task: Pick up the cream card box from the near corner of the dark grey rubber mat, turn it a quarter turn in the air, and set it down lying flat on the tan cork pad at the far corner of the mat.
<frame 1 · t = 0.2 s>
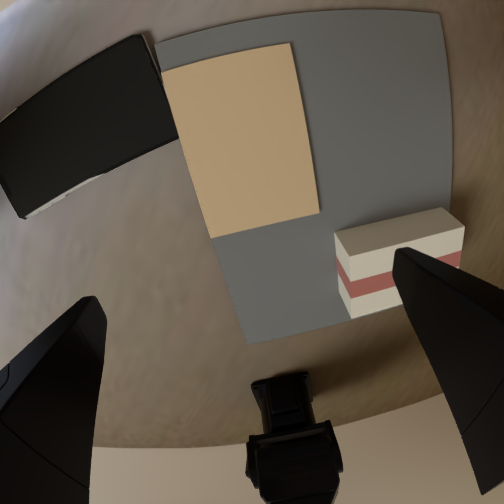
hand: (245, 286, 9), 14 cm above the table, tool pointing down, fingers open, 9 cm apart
card box: (391, 249, 26), point 1 cm above the table, touching mat
smartphone: (73, 130, 19), on the table
mat: (340, 190, 23), on the table
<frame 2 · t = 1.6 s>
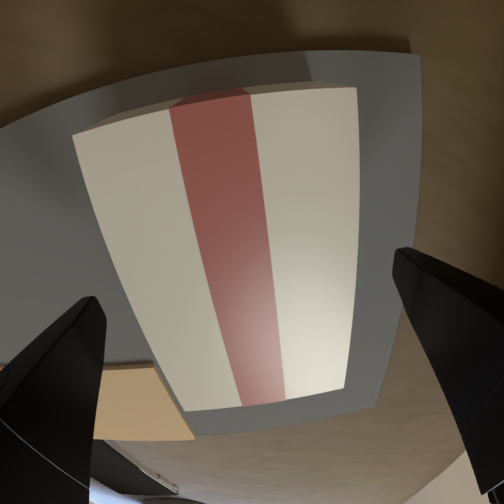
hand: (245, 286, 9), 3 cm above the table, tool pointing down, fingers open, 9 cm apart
card box: (237, 237, 11), point 1 cm above the table, touching mat
smartphone: (111, 459, 24), on the table
mat: (122, 328, 14), on the table
coffeepot: (173, 502, 31), on the table
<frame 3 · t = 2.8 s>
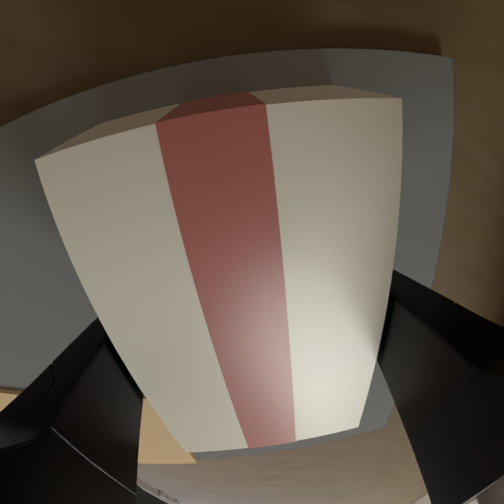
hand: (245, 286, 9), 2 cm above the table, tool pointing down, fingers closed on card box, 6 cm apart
card box: (243, 266, 10), point 1 cm above the table, touching gripper, mat
smartphone: (110, 475, 22), on the table
mat: (115, 357, 12), on the table
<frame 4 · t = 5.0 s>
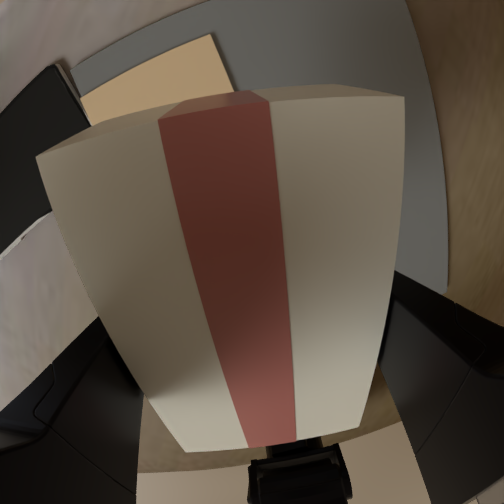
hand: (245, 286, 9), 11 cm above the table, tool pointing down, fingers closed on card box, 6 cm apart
card box: (243, 265, 10), point 10 cm above the table, touching gripper
smartphone: (17, 173, 18), on the table
mat: (306, 193, 20), on the table
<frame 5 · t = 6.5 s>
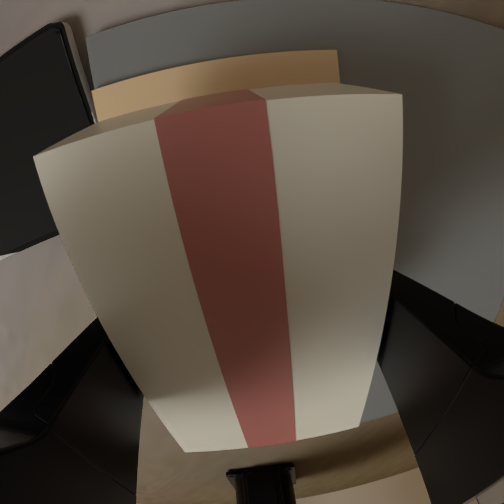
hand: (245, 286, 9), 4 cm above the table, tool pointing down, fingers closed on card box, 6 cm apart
card box: (242, 265, 10), point 3 cm above the table, touching gripper
mat: (375, 294, 15), on the table
when the fingers open (3 cm above the table, at t = 7.6 s): card box drops 1 cm, resting on mat.
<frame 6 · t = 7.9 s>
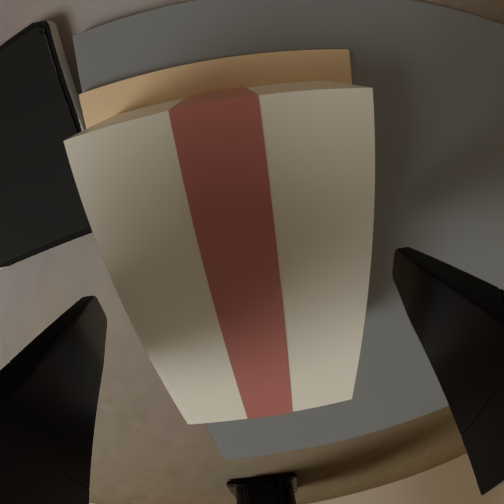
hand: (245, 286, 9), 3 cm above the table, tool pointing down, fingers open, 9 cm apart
card box: (242, 245, 11), point 1 cm above the table, touching mat
mat: (383, 308, 14), on the table
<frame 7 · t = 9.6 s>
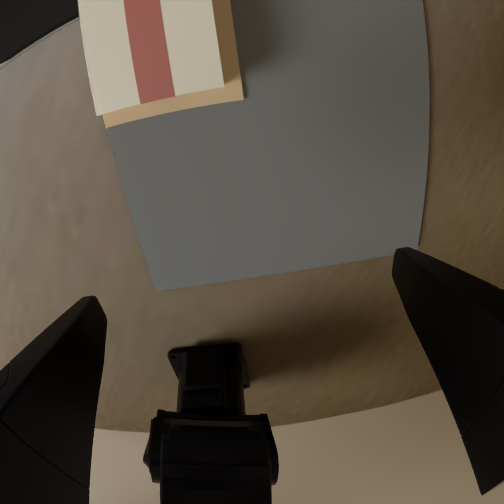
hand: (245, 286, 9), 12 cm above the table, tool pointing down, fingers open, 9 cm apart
card box: (156, 12, 13), point 1 cm above the table, touching mat
mat: (275, 78, 17), on the table
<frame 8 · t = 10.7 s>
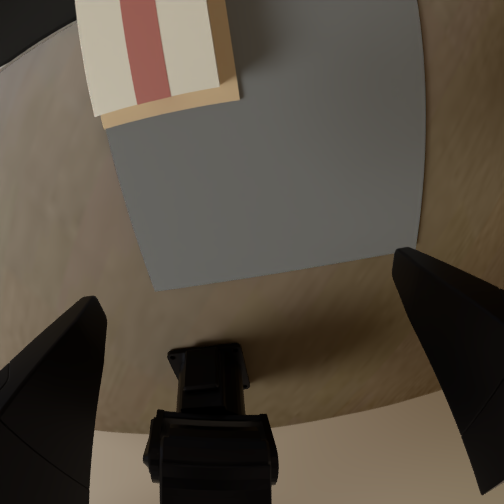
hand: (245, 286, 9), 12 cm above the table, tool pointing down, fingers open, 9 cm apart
card box: (152, 14, 13), point 1 cm above the table, touching mat
mat: (271, 78, 17), on the table
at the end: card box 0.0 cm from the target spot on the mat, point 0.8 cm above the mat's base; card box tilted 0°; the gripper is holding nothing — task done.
